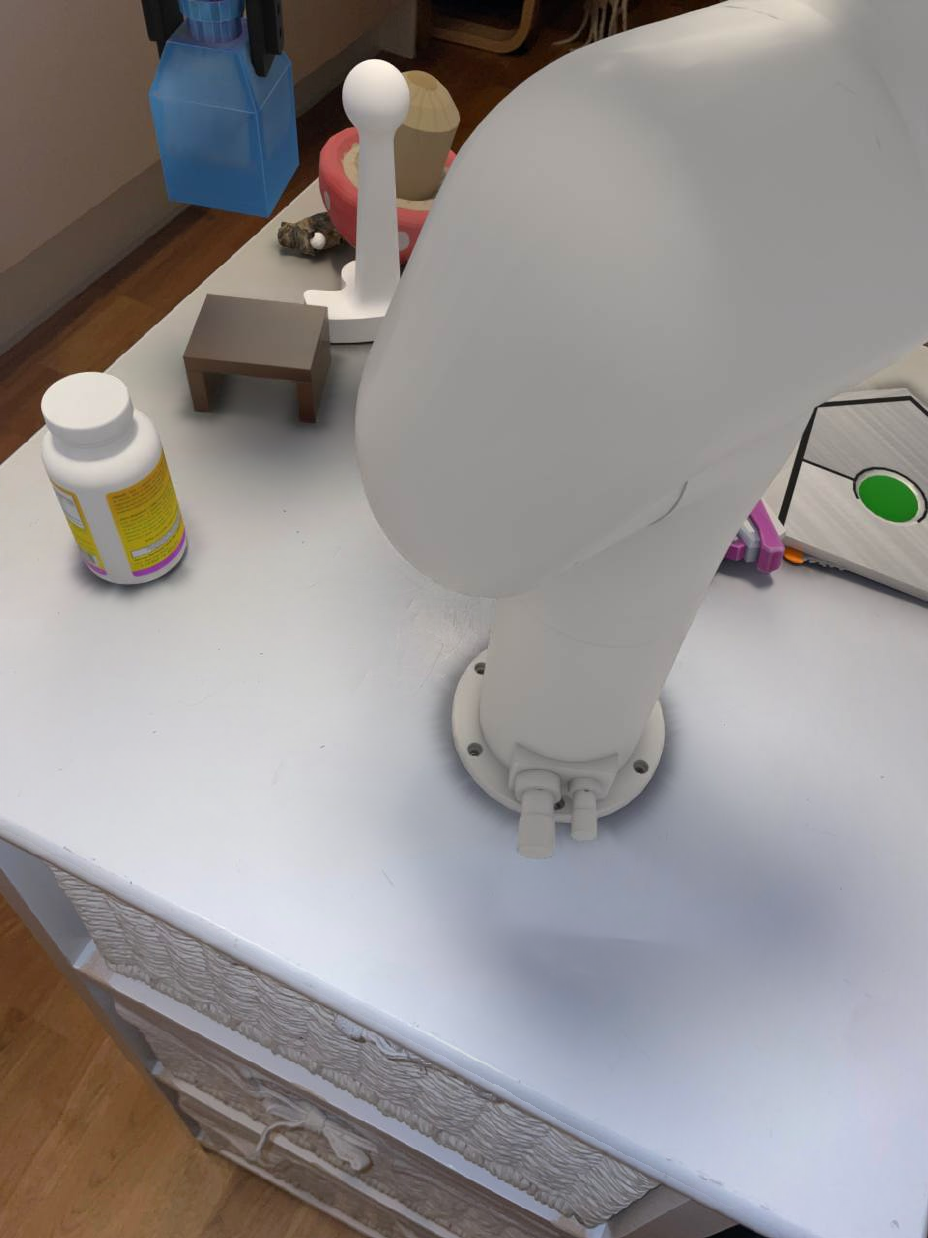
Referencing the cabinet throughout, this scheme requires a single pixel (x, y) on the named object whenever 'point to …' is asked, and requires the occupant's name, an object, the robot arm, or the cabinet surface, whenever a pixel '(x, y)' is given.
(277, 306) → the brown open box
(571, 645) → the robot arm
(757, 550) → the toy gun
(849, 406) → the security device
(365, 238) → the joystick
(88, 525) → the supplement bottle
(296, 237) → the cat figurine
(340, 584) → the cabinet surface
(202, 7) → the perfume bottle
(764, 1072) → the cabinet surface
